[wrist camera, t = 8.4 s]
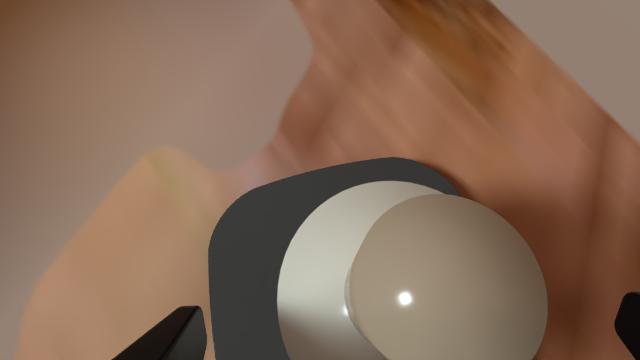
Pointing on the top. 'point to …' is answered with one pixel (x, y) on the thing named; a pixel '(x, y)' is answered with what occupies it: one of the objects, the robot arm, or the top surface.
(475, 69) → the top surface
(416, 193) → the bottle
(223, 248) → the media streaming box
